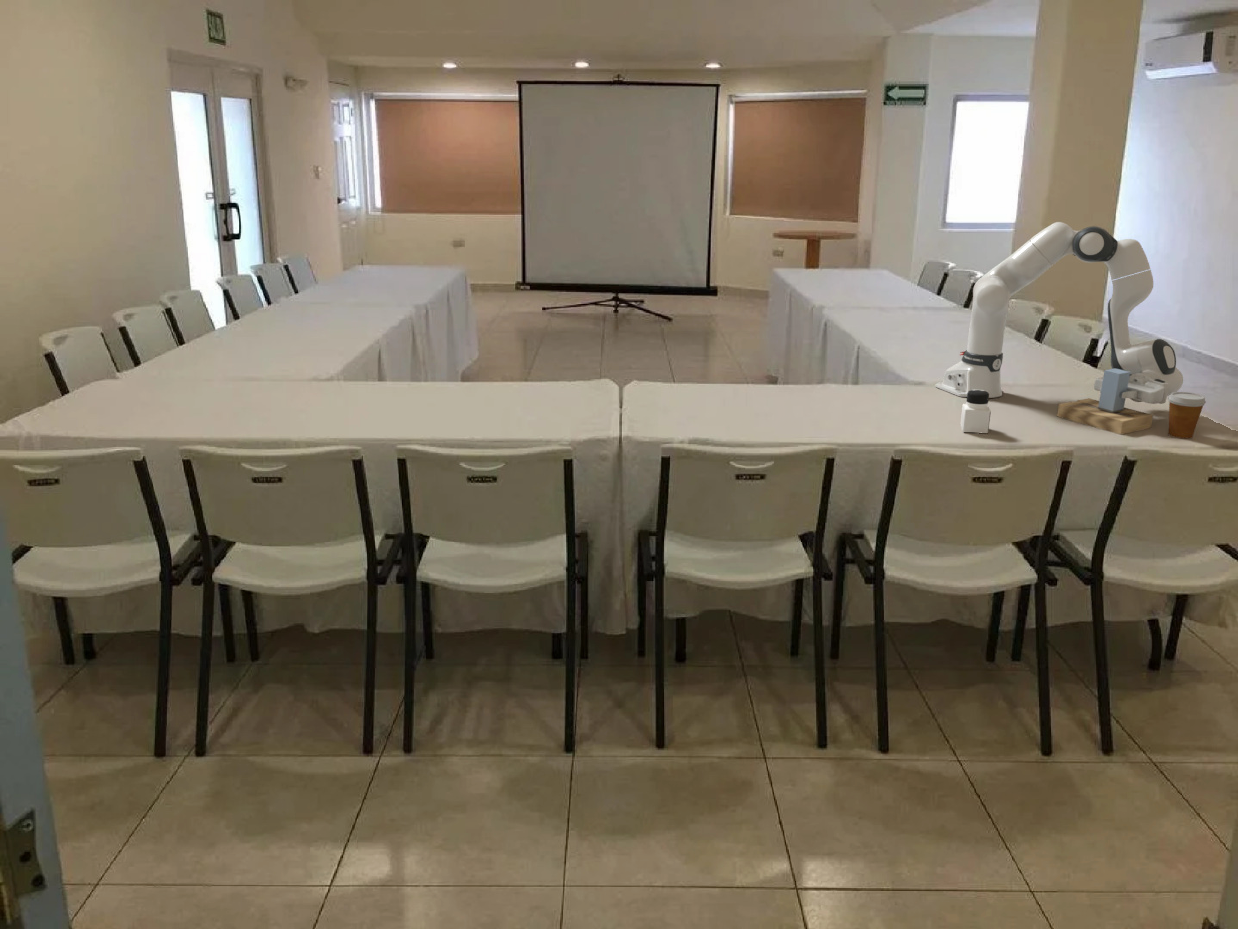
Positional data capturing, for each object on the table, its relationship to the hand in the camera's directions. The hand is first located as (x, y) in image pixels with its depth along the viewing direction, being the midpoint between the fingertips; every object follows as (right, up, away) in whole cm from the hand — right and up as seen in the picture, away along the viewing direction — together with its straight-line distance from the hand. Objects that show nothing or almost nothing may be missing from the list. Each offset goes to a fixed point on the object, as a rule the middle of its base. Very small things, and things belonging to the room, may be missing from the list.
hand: (1111, 392), depth 303 cm
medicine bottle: (-42, -11, -3) cm, 44 cm away
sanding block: (+1, -5, +2) cm, 5 cm away
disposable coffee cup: (+16, -13, -8) cm, 22 cm away
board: (0, -9, +5) cm, 10 cm away
